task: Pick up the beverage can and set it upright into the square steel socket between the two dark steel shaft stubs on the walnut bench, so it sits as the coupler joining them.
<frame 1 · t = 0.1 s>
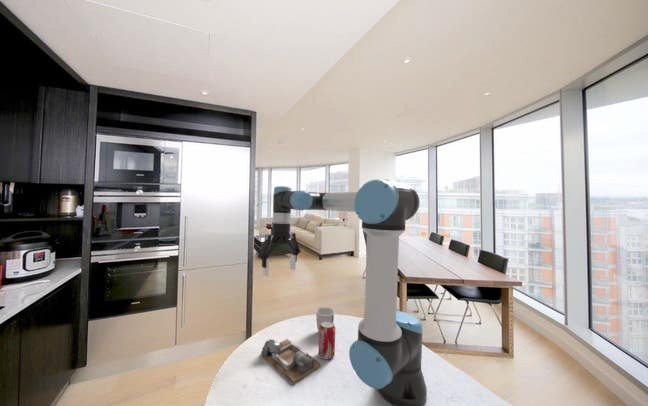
hand: (279, 272, 98), 28 cm above the countertop, fingers open, 13 cm apart
beverage can: (326, 356, 88), on the countertop
shaft b: (272, 356, 86), resting on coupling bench
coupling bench: (289, 360, 84), on the countertop
cup: (324, 334, 103), on the countertop
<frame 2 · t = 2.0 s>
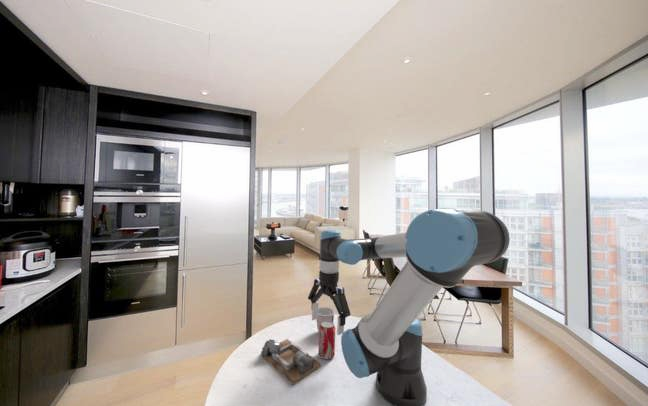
hand: (326, 325, 88), 11 cm above the countertop, fingers open, 13 cm apart
nothing on the countertop moved.
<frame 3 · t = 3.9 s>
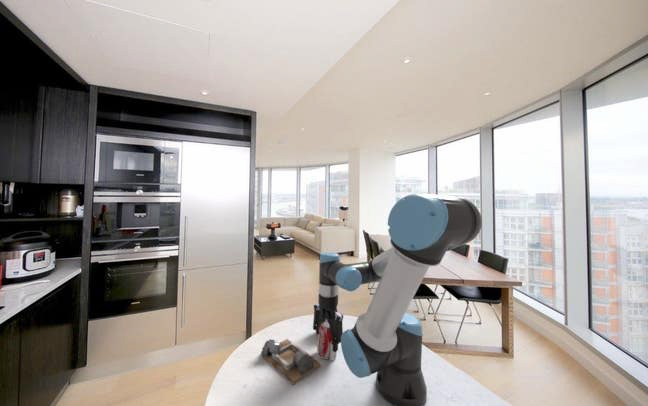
hand: (326, 354, 88), 0 cm above the countertop, fingers closed on beverage can, 6 cm apart
beverage can: (326, 355, 88), on the countertop, touching gripper
everything else where it was.
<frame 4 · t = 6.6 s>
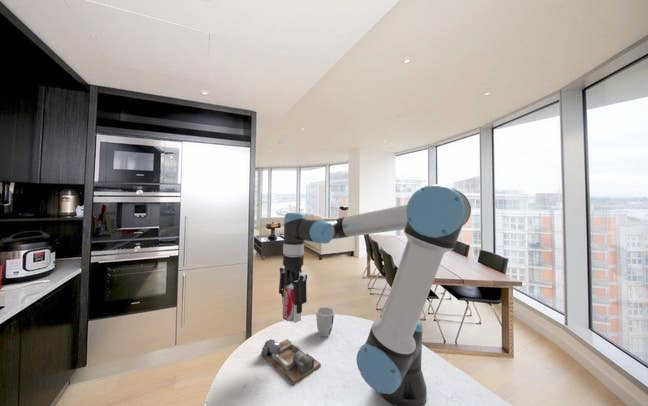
hand: (291, 317, 84), 16 cm above the countertop, fingers closed on beverage can, 6 cm apart
beverage can: (291, 319, 84), point 15 cm above the countertop, touching gripper
everything else where it was.
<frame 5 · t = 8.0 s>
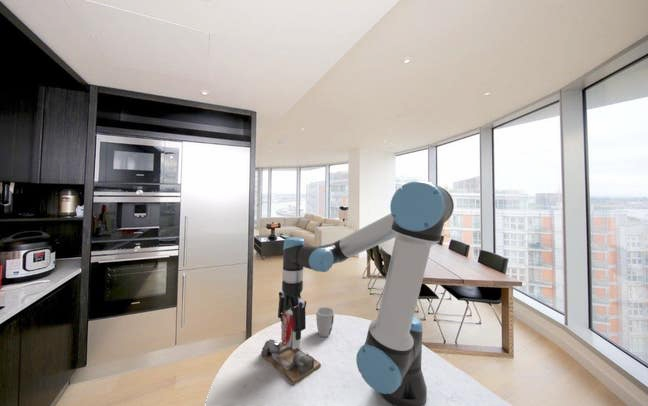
hand: (290, 342, 84), 6 cm above the countertop, fingers closed on beverage can, 6 cm apart
beverage can: (290, 344, 84), point 6 cm above the countertop, touching gripper
everything else where it was.
when the fingers open (4 cm above the countertop, at t = 9.3 s): beverage can drops 2 cm, resting on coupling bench.
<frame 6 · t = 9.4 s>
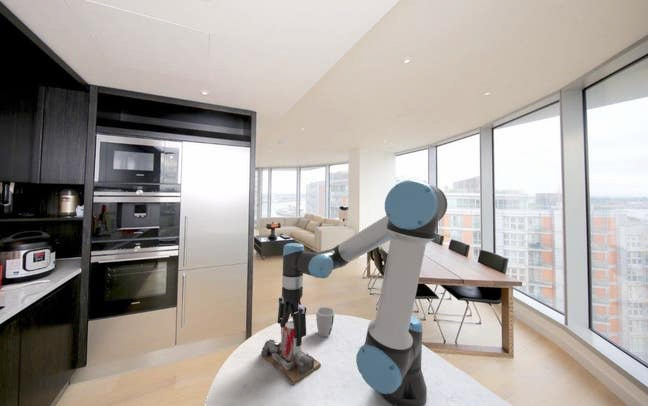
hand: (290, 348, 84), 4 cm above the countertop, fingers open, 7 cm apart
beverage can: (290, 357, 84), point 1 cm above the countertop, touching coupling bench, gripper
everything else where it was.
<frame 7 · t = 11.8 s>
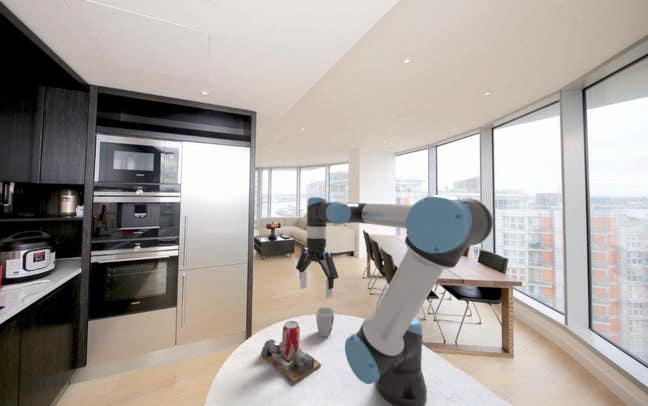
hand: (315, 292, 89), 23 cm above the countertop, fingers open, 13 cm apart
beverage can: (290, 357, 84), point 1 cm above the countertop, touching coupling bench
everything else where it was.
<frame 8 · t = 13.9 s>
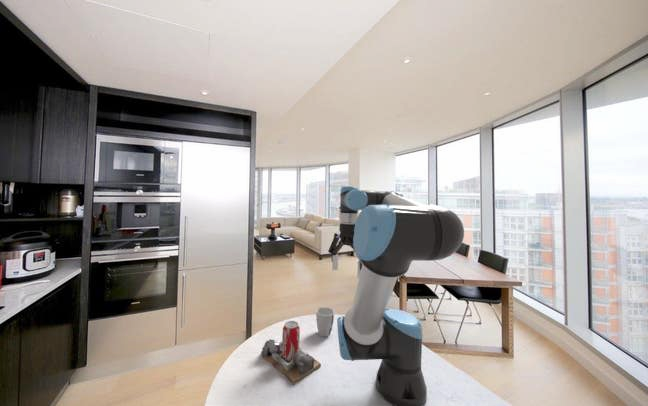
hand: (346, 273, 97), 29 cm above the countertop, fingers open, 13 cm apart
nothing on the countertop moved.
at the end: beverage can 0.1 cm off-centre on the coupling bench, point 1.0 cm above the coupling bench's base; beverage can tilted 0°; the gripper is holding nothing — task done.
